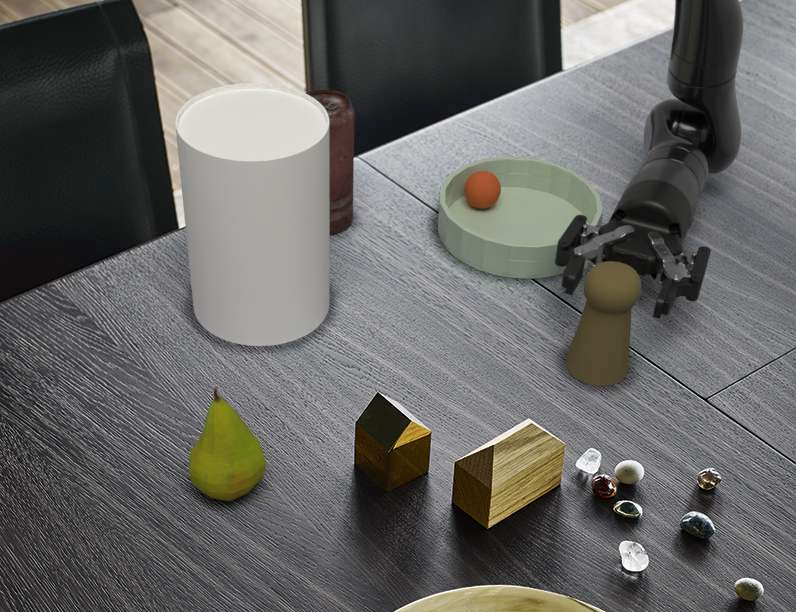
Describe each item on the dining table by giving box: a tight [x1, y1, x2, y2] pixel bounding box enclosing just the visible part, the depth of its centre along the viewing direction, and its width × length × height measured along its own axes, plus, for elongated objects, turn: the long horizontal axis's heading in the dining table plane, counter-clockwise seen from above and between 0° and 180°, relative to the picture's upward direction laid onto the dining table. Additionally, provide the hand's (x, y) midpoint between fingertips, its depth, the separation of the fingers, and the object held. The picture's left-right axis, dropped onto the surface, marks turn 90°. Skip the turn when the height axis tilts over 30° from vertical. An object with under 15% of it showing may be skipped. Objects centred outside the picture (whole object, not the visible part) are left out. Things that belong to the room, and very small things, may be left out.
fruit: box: [188, 386, 267, 502], centre depth 103 cm, size 6×6×12 cm
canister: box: [174, 82, 331, 347], centre depth 118 cm, size 14×14×20 cm
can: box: [305, 88, 355, 236], centre depth 131 cm, size 6×6×14 cm
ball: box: [464, 171, 501, 209], centre depth 137 cm, size 4×4×4 cm
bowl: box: [437, 155, 604, 280], centre depth 134 cm, size 17×17×4 cm
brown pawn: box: [565, 261, 642, 387], centre depth 117 cm, size 6×6×11 cm
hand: (613, 298), depth 117 cm, fingers open, 8 cm apart
